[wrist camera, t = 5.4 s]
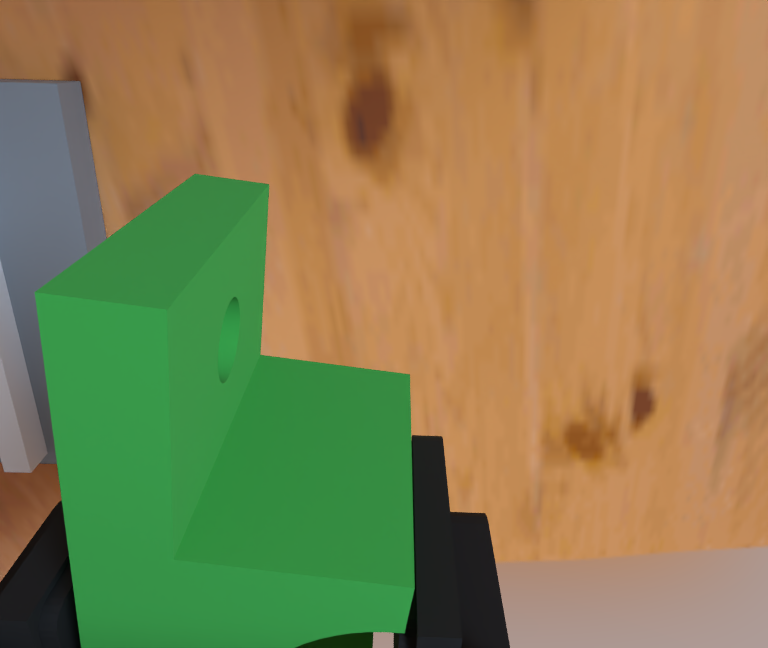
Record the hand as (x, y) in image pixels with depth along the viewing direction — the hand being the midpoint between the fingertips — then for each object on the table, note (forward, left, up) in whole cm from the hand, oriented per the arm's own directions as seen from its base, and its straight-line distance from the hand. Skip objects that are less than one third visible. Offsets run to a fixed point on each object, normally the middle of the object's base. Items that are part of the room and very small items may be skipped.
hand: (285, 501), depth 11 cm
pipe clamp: (0, 0, -1) cm, 1 cm away
